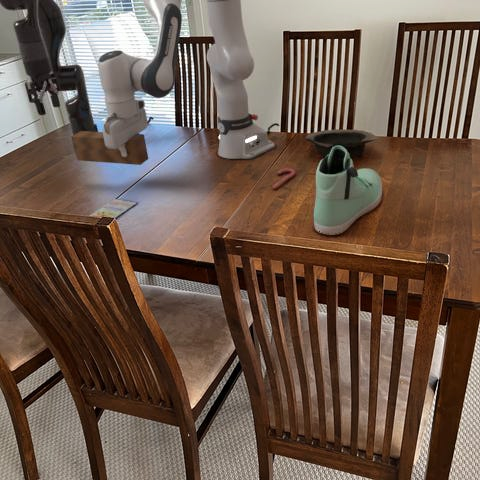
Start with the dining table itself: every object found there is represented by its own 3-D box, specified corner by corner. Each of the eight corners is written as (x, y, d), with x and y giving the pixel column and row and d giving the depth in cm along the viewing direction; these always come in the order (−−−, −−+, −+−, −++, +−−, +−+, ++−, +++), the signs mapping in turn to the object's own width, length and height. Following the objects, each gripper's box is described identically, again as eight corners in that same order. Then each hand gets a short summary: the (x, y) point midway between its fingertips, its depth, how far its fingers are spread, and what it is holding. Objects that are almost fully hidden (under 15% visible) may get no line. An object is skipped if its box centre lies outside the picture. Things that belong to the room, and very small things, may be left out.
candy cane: (259, 187, 155) (259, 183, 155) (283, 170, 165) (283, 166, 165) (275, 190, 152) (275, 186, 151) (298, 173, 162) (298, 169, 162)
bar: (77, 160, 158) (71, 136, 154) (86, 154, 162) (80, 131, 158) (140, 165, 151) (135, 139, 146) (148, 158, 155) (143, 134, 150)
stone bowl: (333, 173, 159) (333, 147, 155) (293, 156, 179) (291, 132, 175) (391, 155, 168) (392, 129, 164) (346, 141, 188) (345, 118, 184)
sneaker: (389, 187, 148) (396, 123, 138) (356, 242, 123) (361, 168, 112) (346, 181, 154) (350, 119, 144) (306, 232, 129) (307, 161, 118)
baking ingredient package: (82, 218, 143) (114, 198, 155) (83, 220, 144) (114, 199, 155) (105, 223, 140) (136, 202, 151) (106, 224, 140) (136, 203, 151)
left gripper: (32, 62, 137) (48, 117, 146) (58, 52, 149) (71, 104, 157) (9, 62, 139) (26, 117, 147) (37, 53, 151) (51, 104, 159)
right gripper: (112, 120, 136) (122, 165, 143) (147, 99, 152) (154, 141, 159) (93, 119, 138) (104, 164, 145) (129, 99, 154) (137, 140, 161)
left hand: (50, 110), depth 152 cm, fingers open, 8 cm apart
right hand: (130, 151), depth 153 cm, fingers closed on bar, 5 cm apart
